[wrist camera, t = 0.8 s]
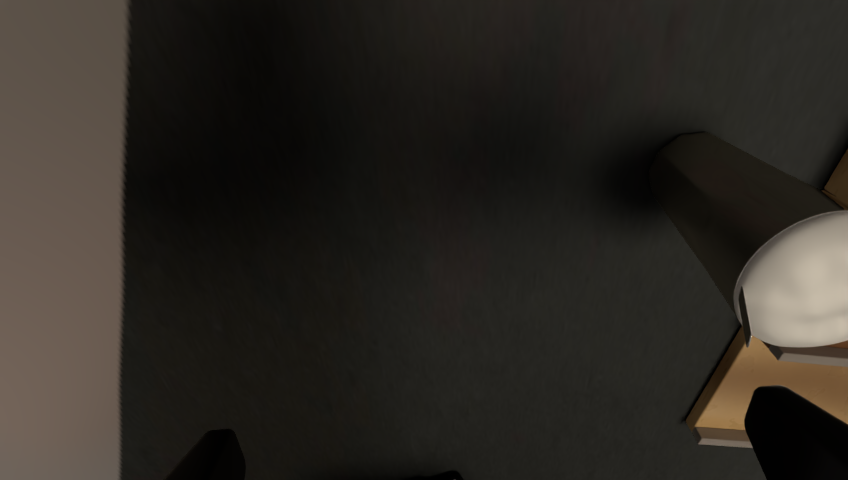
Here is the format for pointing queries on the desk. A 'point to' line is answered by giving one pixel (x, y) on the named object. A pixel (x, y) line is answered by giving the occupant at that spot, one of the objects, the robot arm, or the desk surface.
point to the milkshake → (759, 239)
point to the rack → (772, 372)
